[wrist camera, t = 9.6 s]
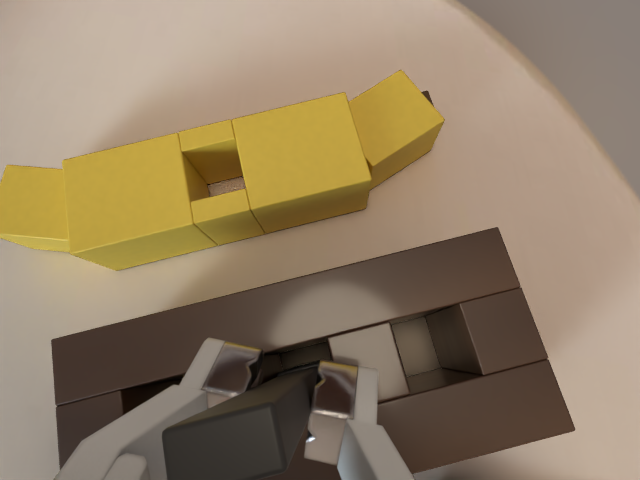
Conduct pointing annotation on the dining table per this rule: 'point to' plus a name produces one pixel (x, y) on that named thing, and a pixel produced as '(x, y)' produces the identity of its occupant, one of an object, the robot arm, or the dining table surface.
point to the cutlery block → (349, 352)
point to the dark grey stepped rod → (244, 431)
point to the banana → (220, 178)
